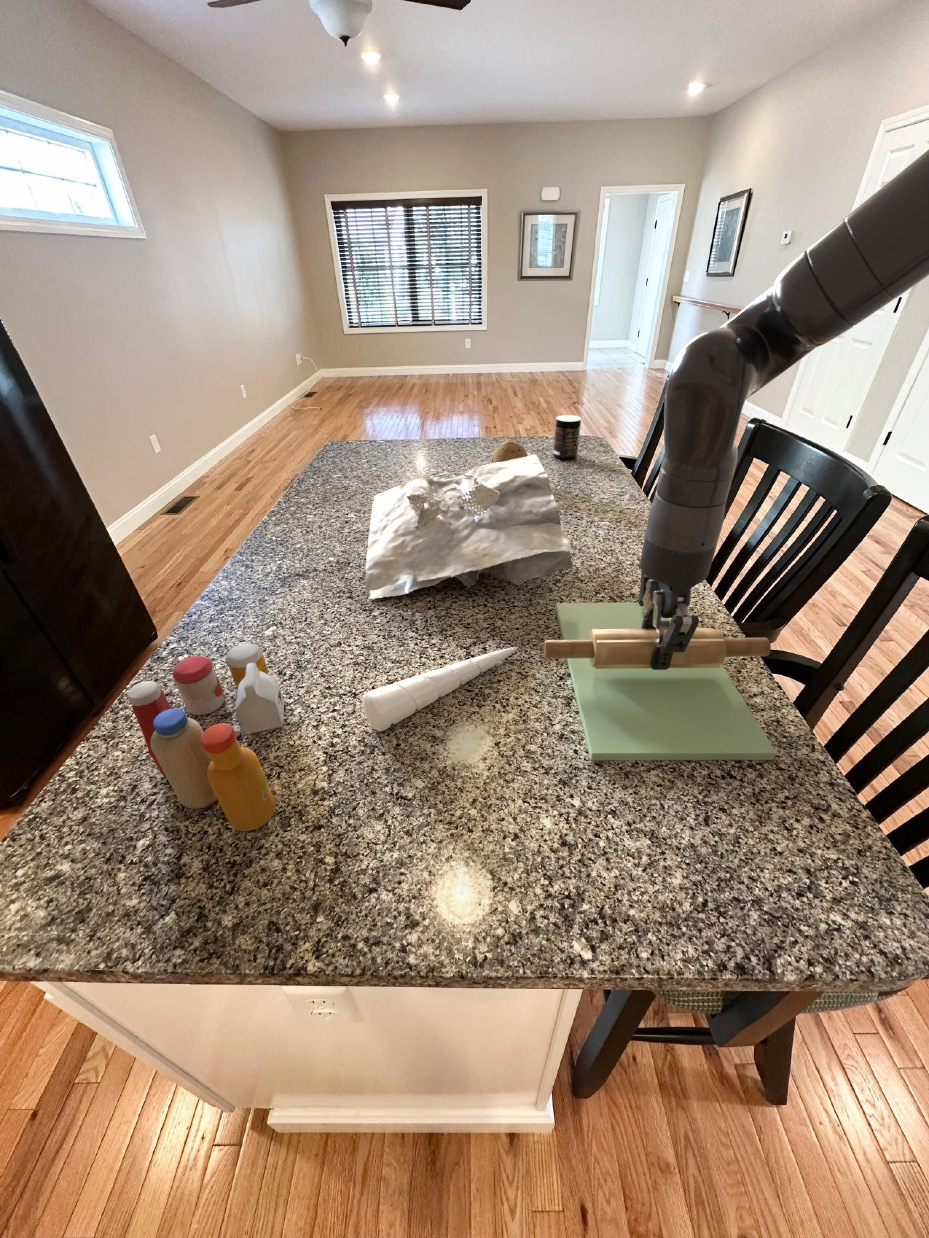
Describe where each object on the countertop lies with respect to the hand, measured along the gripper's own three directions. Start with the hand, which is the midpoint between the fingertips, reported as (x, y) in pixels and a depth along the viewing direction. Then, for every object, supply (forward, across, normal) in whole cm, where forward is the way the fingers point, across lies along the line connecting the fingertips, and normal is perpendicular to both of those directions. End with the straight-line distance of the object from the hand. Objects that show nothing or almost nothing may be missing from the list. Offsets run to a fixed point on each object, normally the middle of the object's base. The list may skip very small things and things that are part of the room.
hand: (653, 654), depth 66 cm
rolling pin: (+1, 0, 0) cm, 1 cm away
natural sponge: (+3, +73, +15) cm, 74 cm away
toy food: (+3, -12, +52) cm, 54 cm away
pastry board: (+4, +1, 0) cm, 4 cm away
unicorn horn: (+4, -2, +27) cm, 27 cm away
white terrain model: (+3, +34, +25) cm, 43 cm away
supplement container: (+3, +91, -2) cm, 91 cm away
